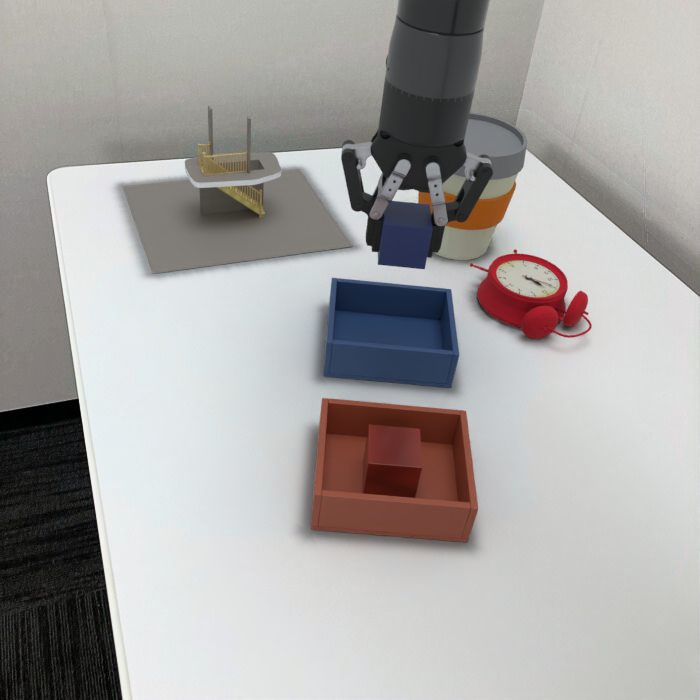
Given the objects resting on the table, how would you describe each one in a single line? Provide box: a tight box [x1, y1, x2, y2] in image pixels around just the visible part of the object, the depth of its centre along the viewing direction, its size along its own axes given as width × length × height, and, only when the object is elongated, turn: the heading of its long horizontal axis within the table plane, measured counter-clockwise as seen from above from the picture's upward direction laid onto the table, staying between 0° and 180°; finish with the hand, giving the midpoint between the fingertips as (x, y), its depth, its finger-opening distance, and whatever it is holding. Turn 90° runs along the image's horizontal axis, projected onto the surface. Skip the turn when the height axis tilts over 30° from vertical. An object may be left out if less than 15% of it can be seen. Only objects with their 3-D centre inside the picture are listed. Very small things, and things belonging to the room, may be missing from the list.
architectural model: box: [122, 105, 354, 275], centre depth 96 cm, size 21×25×14 cm
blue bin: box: [322, 277, 460, 389], centre depth 82 cm, size 13×11×4 cm
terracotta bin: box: [310, 397, 479, 543], centre depth 67 cm, size 13×11×4 cm
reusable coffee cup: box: [417, 111, 528, 261], centre depth 96 cm, size 13×13×15 cm
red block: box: [363, 424, 422, 498], centre depth 67 cm, size 4×4×4 cm
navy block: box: [377, 200, 433, 270], centre depth 74 cm, size 4×4×4 cm
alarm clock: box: [469, 249, 593, 340], centre depth 89 cm, size 10×6×15 cm
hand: (401, 249), depth 75 cm, fingers closed on navy block, 4 cm apart
